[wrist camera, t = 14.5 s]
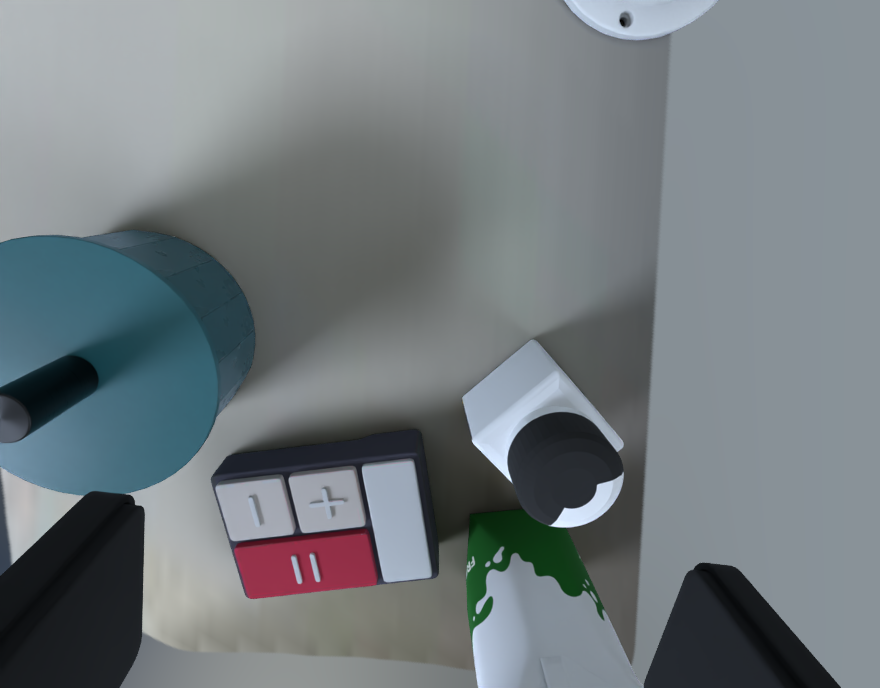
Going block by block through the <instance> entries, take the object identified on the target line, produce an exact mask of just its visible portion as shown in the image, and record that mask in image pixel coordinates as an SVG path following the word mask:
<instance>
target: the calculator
mask: <svg viewBox="0 0 880 688" xmlns="http://www.w3.org/2000/svg"><path fill="white" fill-rule="evenodd" d="M211 483H212V486H213V490H214V493H215V496H216V500H217V503H218V506H219V510H220V513H221V516H222V520H223V523H224V526H225V529H226V533H227V536H228V539H229V543H230V546H231V549H232V553H233V556H234V559H235V563H236V566H237V569H238V573H239V576H240V579H241V583H242V586H243V589H244V593H245V595H246V597H248V598H250V599H257V598H266V597H275V596H284V595H293V594H302V593H311V592H321V591H330V590H339V589H348V588H357V587H366V586H373V585H380V584H389V583H398V582H407V581H416V580H425V579H433V578H436V577H437V576H438V574H439V545H438V537H437V530H436V524H435V517H434V511H433V504H432V498H431V491H430V485H429V478H428V472H427V465H426V459H425V452H424V446H423V439H422V434H421V432H420V431H419V430H406V431H398V432H389V433H381V434H373V435H370V436H368V437H365V438H362V439H360V440H353V441H344V442H336V443H327V444H319V445H311V446H302V447H294V448H285V449H277V450H269V451H260V452H252V453H243V454H235V455H229V456H227V457H226V459H225V460H224V461H223V462H222V464H221V465H220V466H219V468H218V469H217V470H216V472H215V473H214V474H213V476H212V477H211Z"/></svg>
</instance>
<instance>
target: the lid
mask: <svg viewBox="0 0 880 688" xmlns="http://www.w3.org/2000/svg"><path fill="white" fill-rule="evenodd" d="M220 396H221V375H220V369H219V362H218V358H217V355H216V351H215V348H214V344H213V342H212V340H211V337H210V335H209V333H208V331H207V328H206V326H205V325H204V323H203V322H202V320H201V318H200V317H199V315H198V313H197V312H196V310H195V309H194V308H193V306H192V305H191V304H190V303H189V301H188V300H187V299H186V297H185V296H184V295H183V294H182V293H181V292H180V291H179V290H178V289H177V288H176V287H175V286H174V285H173V284H172V283H171V282H170V281H169V280H167V279H166V278H165V277H164V276H162V275H161V274H160V273H159V272H157V271H156V270H155V269H154V268H152V267H150V266H149V265H147V264H146V263H144V262H143V261H141V260H139V259H138V258H136V257H134V256H132V255H130V254H128V253H126V252H124V251H122V250H120V249H117V248H115V247H112V246H109V245H106V244H103V243H100V242H97V241H93V240H89V239H84V238H80V237H72V236H63V235H36V236H29V237H23V238H16V239H11V240H8V241H5V242H1V243H0V467H1V468H3V469H5V470H6V471H8V472H10V473H11V474H13V475H15V476H17V477H19V478H21V479H23V480H25V481H28V482H31V483H33V484H36V485H38V486H41V487H44V488H47V489H51V490H55V491H58V492H63V493H69V494H75V495H84V496H85V495H86V494H88V493H89V492H91V491H101V492H109V493H118V494H125V493H131V492H134V491H138V490H141V489H145V488H148V487H150V486H152V485H155V484H157V483H159V482H161V481H163V480H165V479H166V478H168V477H170V476H171V475H173V474H175V473H176V472H177V471H178V470H180V469H181V468H182V467H183V466H185V465H186V464H187V463H188V462H189V461H190V460H191V459H192V458H193V456H194V455H195V454H196V453H197V452H198V451H199V449H200V448H201V447H202V445H203V444H204V442H205V441H206V439H207V438H208V436H209V434H210V432H211V430H212V427H213V425H214V423H215V420H216V416H217V413H218V410H219V404H220Z"/></svg>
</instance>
